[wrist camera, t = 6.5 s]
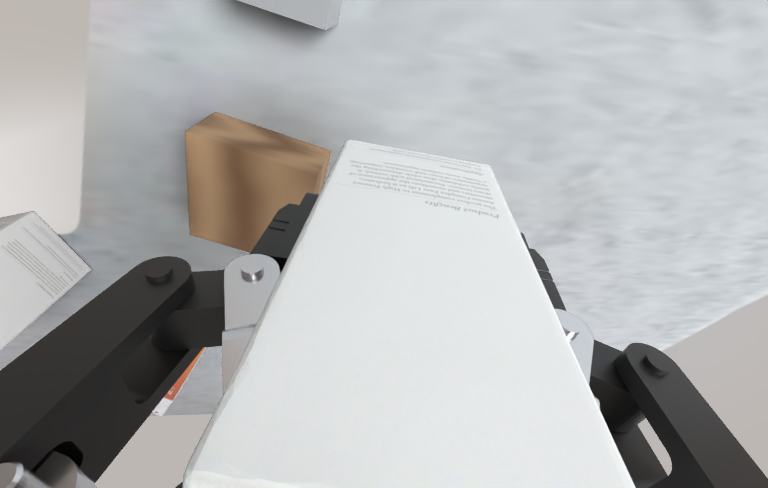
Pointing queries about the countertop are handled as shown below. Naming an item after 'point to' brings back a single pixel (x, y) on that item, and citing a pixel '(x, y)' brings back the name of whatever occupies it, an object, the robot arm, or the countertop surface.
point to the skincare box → (408, 349)
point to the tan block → (245, 178)
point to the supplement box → (32, 272)
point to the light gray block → (303, 10)
